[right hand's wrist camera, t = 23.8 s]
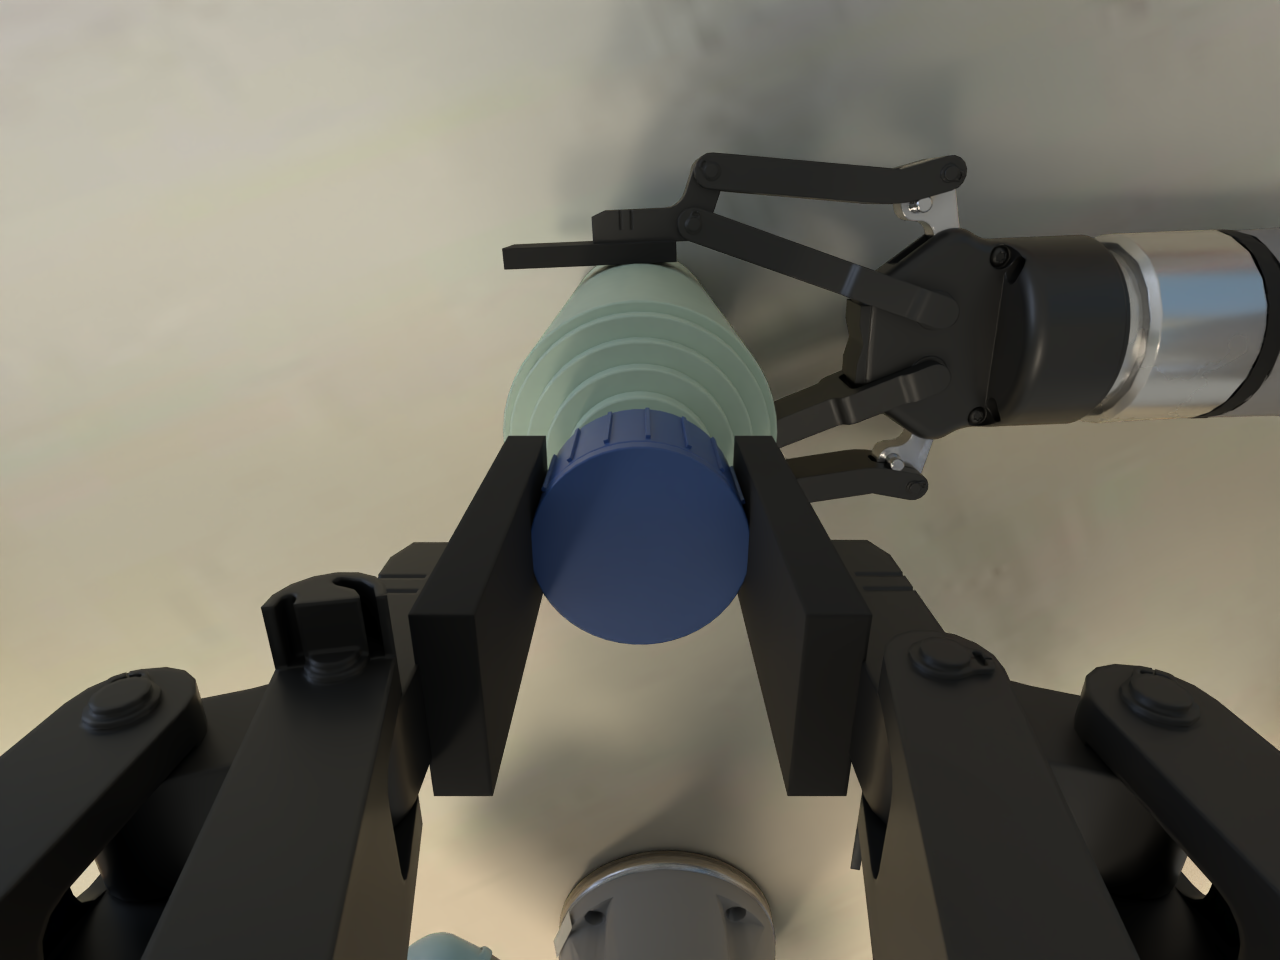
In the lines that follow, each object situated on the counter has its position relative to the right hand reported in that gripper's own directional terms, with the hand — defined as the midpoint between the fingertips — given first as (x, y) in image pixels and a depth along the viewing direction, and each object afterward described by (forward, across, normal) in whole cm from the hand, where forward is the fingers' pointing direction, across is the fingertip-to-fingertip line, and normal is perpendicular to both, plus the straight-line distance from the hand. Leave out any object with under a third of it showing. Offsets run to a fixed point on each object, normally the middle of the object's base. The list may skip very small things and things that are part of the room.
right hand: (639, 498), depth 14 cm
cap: (-2, 0, 0) cm, 2 cm away
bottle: (+22, 0, 0) cm, 22 cm away
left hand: (+16, -5, 0) cm, 16 cm away
